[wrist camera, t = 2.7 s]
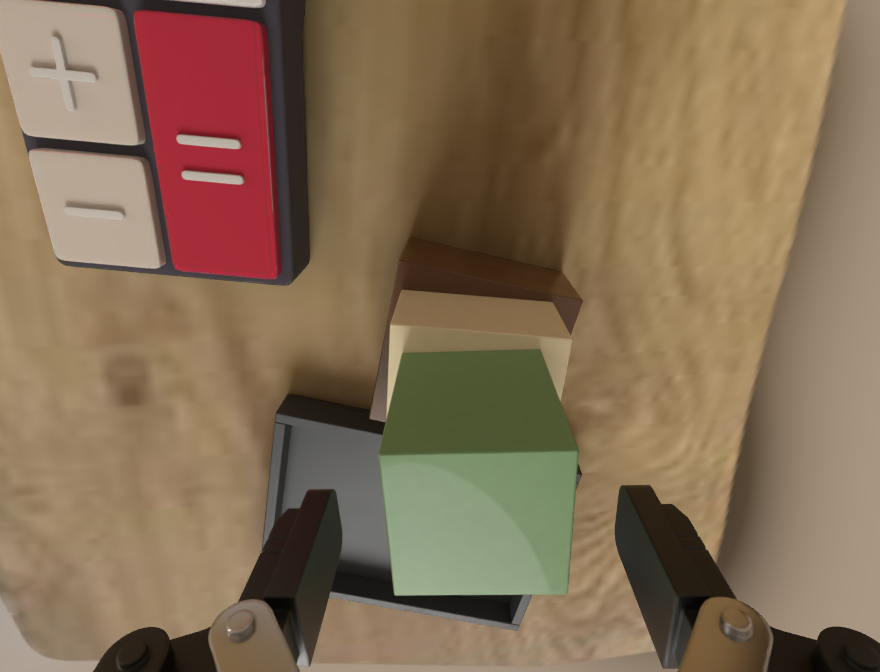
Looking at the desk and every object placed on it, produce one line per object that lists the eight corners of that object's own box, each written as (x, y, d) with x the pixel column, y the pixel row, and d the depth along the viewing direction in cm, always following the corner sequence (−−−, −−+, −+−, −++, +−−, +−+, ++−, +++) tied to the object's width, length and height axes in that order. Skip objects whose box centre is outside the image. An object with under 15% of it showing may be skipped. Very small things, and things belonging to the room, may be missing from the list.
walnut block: (408, 237, 25) (399, 259, 21) (562, 271, 25) (583, 300, 21) (381, 375, 28) (368, 419, 24) (519, 403, 28) (529, 451, 24)
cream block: (401, 289, 21) (389, 324, 17) (553, 301, 21) (573, 338, 18) (395, 418, 24) (384, 472, 20) (530, 429, 24) (544, 485, 20)
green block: (401, 352, 18) (377, 454, 12) (540, 348, 18) (579, 450, 12) (411, 465, 20) (394, 596, 14) (536, 463, 20) (568, 595, 14)
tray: (287, 393, 29) (275, 413, 27) (574, 451, 30) (582, 474, 28) (269, 558, 34) (257, 584, 32) (514, 603, 35) (517, 631, 33)
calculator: (43, 271, 22) (-86, -184, 16) (105, 245, 26) (23, -129, 19) (288, 293, 22) (263, -151, 16) (313, 264, 26) (303, -102, 19)
